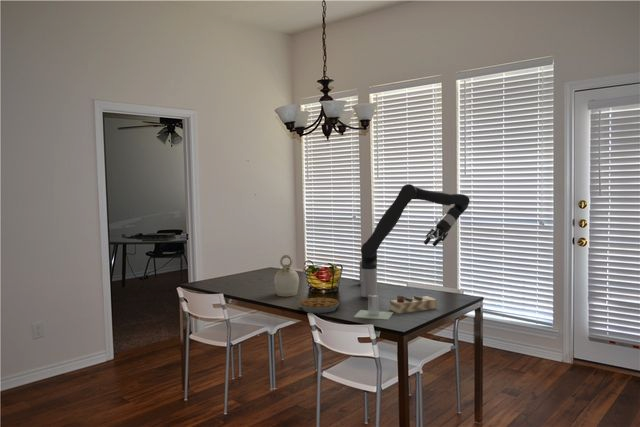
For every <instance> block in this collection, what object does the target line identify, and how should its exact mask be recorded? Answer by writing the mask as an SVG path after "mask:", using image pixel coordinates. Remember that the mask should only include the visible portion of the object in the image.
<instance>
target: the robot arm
mask: <svg viewBox="0 0 640 427" xmlns="http://www.w3.org/2000/svg"><path fill="white" fill-rule="evenodd" d="M412 200H418V201H426V202H429V203H433V204H438V205H442V206H447V207H448V206H449V207H450V206H451V205H453V206H452V207H451V208H449V209H448V211H447V212H446V213H445V214H444V215H443V216H442V217H441V219H440V220H439V221H438V222H437V224H436V225H435V227H436V228H434V229H433V228H431V229H430V230H429V231H428V233H427V234H426V235H425V237H426V239H425V240H424V241H423V244H424V245H428V244H429V243H430V241H431V240H432V239H435V240H434V241H433V243H432V246H433V247H436V246H437V245H438V244H439V243H440V242H444V241H445V239H446V238H447V236H448V235H449V233H448V232H449V231H450V230H451V229H452V227H453V226H454V225H455V223H456V222H457V220H458V219H459V218H460V217H461V215H462V214H463V213H464V212H465V211H466V210H467V208H468V207H469V204H470V202H471V201H470V197H469V196H467V195H466V194H462V193H446V192H441V191H433V190H428V189H423V188H419V187H417V186H414V185H413V184H411V183H406V184H404V185H403V186H402V187H401V189H400V190H399V193H398V194H397V195H396V198H395V200H394V201H393V203H391V205H390V206H389V207H388V208H387V209H386V211H385V212H384V214H383V215H382V216H381V218H380V219H379V220H378V223H377V224H376V226H375V228H374V230H373V233H372V234H371V235H370V237H369V238H368V239H367V240H366V241H365V242H364V243H363V244H362V246H361V248H360V253H361V261H362V281H361V284H360V297H361V298H367V299H368V295H373V294H375V295H378V250H379V248H380V246H381V244H382V243H383V241H384V240H385V239H386V238H387V236H389V234H390V233H391V231H392V230H393V229H394V228H395V226H396V225H397V223H398V222H399V220H400V219H401V216H402V215H403V212H404V210H405V209H406V208H407V206H408V205H409V203H410V202H411V201H412Z"/></svg>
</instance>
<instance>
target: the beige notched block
mask: <svg viewBox="0 0 640 427" xmlns="http://www.w3.org/2000/svg"><path fill="white" fill-rule="evenodd" d="M437 302H438V301H437V298H434V297H432V296H428V295H424V296H419V295H413V297H408V296H405V295H401V294H400V295H396V299H391V300H389V310H391V312H393V313H394V312H395V313H397V314H404V313H413V312H420V311H427V310H434V309H437V307H438V306H437V305H438V304H437Z"/></svg>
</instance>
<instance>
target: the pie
mask: <svg viewBox="0 0 640 427" xmlns="http://www.w3.org/2000/svg"><path fill="white" fill-rule="evenodd" d="M339 304H340V302H339V300H338V299H336V298H332V297H328V298H327V297H324V296H323V297H319V296H316V297H309V298H304V299H303V300H300V303H299V305H300V307H301V309H302V310H303V311H304V312H306V313H311V312H312V313H311V314H313V313H314V314H316V313H317V314H322V313H333V312H334V311H336V310H337V307H338V306H339Z"/></svg>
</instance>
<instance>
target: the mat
mask: <svg viewBox="0 0 640 427" xmlns="http://www.w3.org/2000/svg"><path fill="white" fill-rule="evenodd" d="M393 314H394V311H382V310H381V311H380V310H379V315H374V316H372V315H370V314H368V309H367V310H366V309H365V310H364V309H360V310H359V311H358V312H357V313H356V314H355V315H354V316H353V318H356V319H368V320H370V319H372V320H383V321H386V320H387V321H389V319H390V318H391V317H392V316H393Z"/></svg>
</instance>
